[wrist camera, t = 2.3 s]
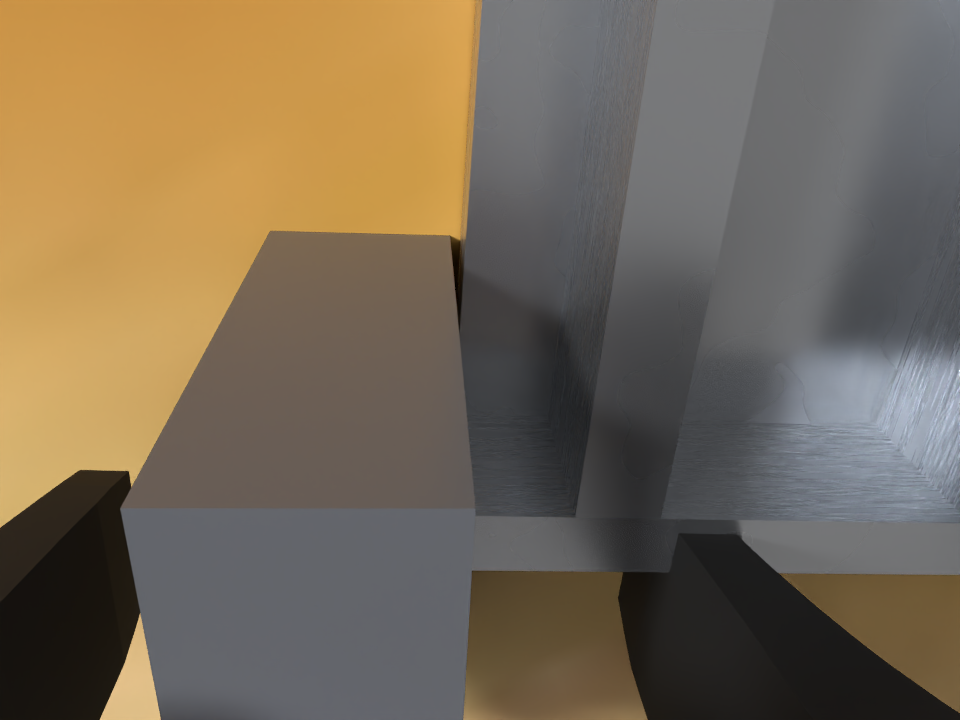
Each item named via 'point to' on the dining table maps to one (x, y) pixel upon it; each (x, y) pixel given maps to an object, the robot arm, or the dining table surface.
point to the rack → (713, 283)
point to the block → (315, 495)
